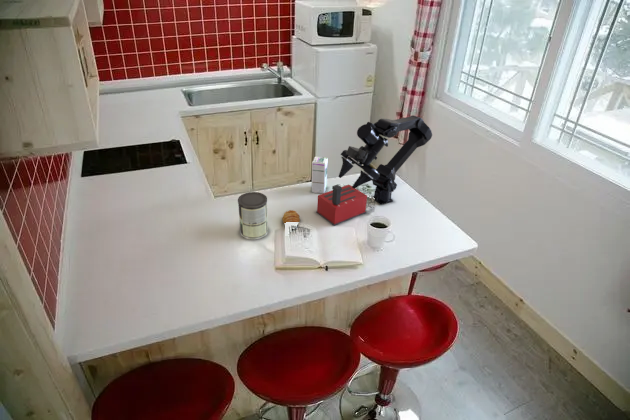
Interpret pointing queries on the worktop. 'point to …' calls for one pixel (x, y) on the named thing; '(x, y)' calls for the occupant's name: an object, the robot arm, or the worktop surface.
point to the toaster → (342, 205)
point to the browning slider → (336, 194)
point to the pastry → (291, 216)
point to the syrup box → (319, 174)
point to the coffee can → (253, 215)
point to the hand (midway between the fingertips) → (346, 182)
